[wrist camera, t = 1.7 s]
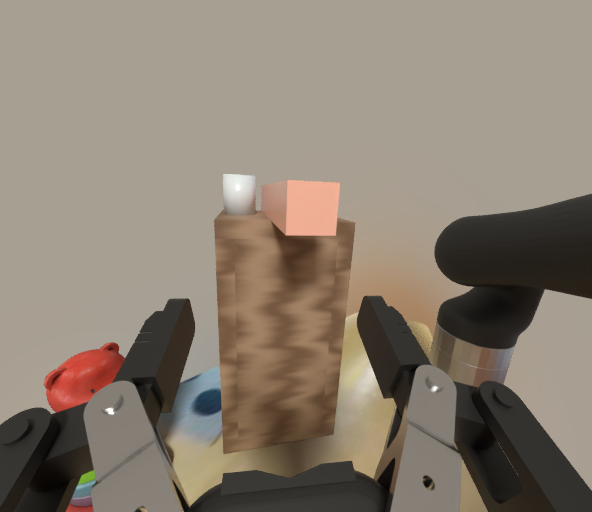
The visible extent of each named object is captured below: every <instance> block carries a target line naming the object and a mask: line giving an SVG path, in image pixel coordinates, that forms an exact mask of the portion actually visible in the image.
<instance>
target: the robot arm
mask: <svg viewBox="0 0 592 512" xmlns="http://www.w3.org/2000/svg"><path fill="white" fill-rule="evenodd" d="M435 259H436V263H437V265H438V267H439V269H440V270H441V272H442V273H443V274H444V275H445V276H446V277H447V278H449V279H450V280H451V281H453V282H456V283H458V284H461V285H465V286H473V287H474V288H473V289H471V290H470V291H469V292H467V293H465V294H463V295H461V296H458V297H455V298H452V299H449V300H447V301H445V302H443V304H442V305H441V306H440V308H439V312H438V317H437V322H436V327H435V332H434V337H433V342H432V347H431V351H430V356H429V360H428V358H427V356H426V355H425V353H424V351H423V350H422V348H421V346H420V345H419V343H418V341H417V340H416V338H415V336H414V335H413V334H412V331H411V330H410V328H409V326H407V323H406V322H405V320H404V318H403V317H402V315H401V314H400V313H399V312H398V311H397V310H395V309H394V308H393V307H392V306H391V307H388V306H387V305H386V303H385V301H384V300H383V298H382V297H381V296H364V298H363V300H362V304H361V307H360V311H359V314H358V317H357V328H358V332H359V334H360V337H361V339H362V342H363V345H364V347H365V350H366V353H367V355H368V358H369V360H370V363H371V366H372V368H373V371H374V374H375V376H376V379H377V381H378V384H379V387H380V389H381V392H382V395H383V397H384V399H385V398H394V401H395V403H396V406H395V408H394V412H393V416H392V420H391V424H390V428H389V431H388V435H387V439H386V443H385V447H384V450H383V454H382V456H381V459H380V461H379V464H378V466H377V469H376V473H375V476H374V479H372V478H371V477H369V476H367V475H365V474H363V473H361V472H358V471H355V470H354V468H353V464H352V461H346V462H335V463H325V464H320V465H318V466H316V467H314V468H312V469H309V470H307V471H305V472H303V473H301V474H299V475H297V476H294V477H292V478H286V477H282V476H278V475H274V474H270V473H266V472H262V471H257V470H253V471H243V472H233V473H223V479H222V483H221V484H218V485H216V486H215V487H213V488H211V489H210V490H208V491H207V492H205V493H204V494H203V495H202V496H200V497H199V498H198V499H197V500H196V501H195V502H194V503H193V504H192V505H191V506H190V505H189V502H188V500H187V497H186V495H185V493H184V490H183V488H182V486H181V483H180V481H179V479H178V477H177V475H176V472H175V470H174V468H173V465H172V463H171V460H170V458H169V455H168V453H167V450H166V448H165V445H164V443H163V440H162V438H161V435H160V433H159V430H158V428H157V426H156V425H157V422H158V419H159V416H160V413H165V412H171V409H172V406H173V403H174V400H175V396H176V393H177V390H178V387H179V383H180V380H181V377H182V373H183V370H184V367H185V363H186V360H187V357H188V354H189V350H190V347H191V344H192V340H193V337H194V333H195V321H194V317H193V312H192V308H191V304H190V300H189V299H169V300H168V302H167V304H166V306H165V308H164V310H163V311H156V312H155V313H154V314H153V315H151V316H150V317H149V318H148V319H147V320H146V321H145V323H144V325H143V327H142V329H141V330H140V334H138V336H137V338H136V340H135V343H134V344H133V345H132V347H131V349H130V351H129V353H128V355H127V356H126V358H125V360H124V362H123V364H122V366H121V368H120V369H119V371H118V373H117V375H116V377H115V379H114V380H113V382H112V383H111V384H109V385H107V386H105V387H103V388H102V389H101V390H99V391H98V392H97V393H96V394H95V395H94V396H93V397H92V398H91V399H90V400H89V401H88V402H86V403H83V404H80V405H77V406H74V407H71V408H69V409H66V410H63V411H60V412H57V413H54V414H50V412H49V411H48V410H46V409H44V408H32V409H28V410H25V411H22V412H20V413H18V414H16V415H14V416H13V417H11V418H9V419H8V420H6V421H5V422H4V423H2V424H1V425H0V512H66V510H67V508H68V506H69V503H70V501H71V499H72V497H73V494H74V492H75V490H76V487H77V485H78V483H79V481H80V478H81V476H82V475H83V474H86V473H88V472H90V471H93V470H94V473H95V484H94V485H93V486H92V489H91V497H92V504H93V510H94V512H460V489H461V457H462V459H463V461H464V463H465V465H466V467H467V469H468V471H469V473H470V475H471V477H472V479H473V481H474V483H475V485H476V487H477V489H478V492H479V494H480V496H481V498H482V500H483V502H484V504H485V506H486V508H487V510H488V512H592V491H591V489H590V488H589V487H588V486H587V484H586V483H585V482H584V481H583V479H582V478H581V477H580V475H579V474H578V473H577V471H576V470H575V469H574V468H573V466H572V465H571V464H570V462H569V461H568V460H567V458H566V457H565V456H564V455H563V453H562V452H561V451H560V449H559V448H558V447H557V446H556V444H555V443H554V442H553V440H552V439H551V438H550V436H549V435H548V434H547V433H546V431H545V430H544V429H543V427H542V426H541V425H540V423H539V422H538V421H537V420H536V418H535V417H534V416H533V414H532V413H531V412H530V410H529V409H528V408H527V407H526V405H525V404H524V403H523V401H522V400H521V399H520V398H519V397H518V396H517V395H516V394H515V393H514V392H513V391H512V390H511V389H509V388H508V387H506V386H504V381H505V377H506V374H507V371H508V368H509V364H510V360H511V357H512V354H513V351H514V347H515V344H516V342H517V339H518V336H519V335H520V334H521V333H522V332H523V331H524V330H526V328H527V327H528V326H529V325H530V323H531V322H532V320H533V317H534V315H535V311H536V310H537V307H538V305H539V302H540V300H541V297H542V295H543V292H544V290H545V289H547V290H552V291H557V292H562V293H566V294H571V295H576V296H581V297H585V298H590V299H592V194H589V195H585V196H581V197H577V198H574V199H569V200H566V201H562V202H558V203H555V204H551V205H547V206H544V207H539V208H535V209H529V210H524V211H517V212H509V213H501V214H493V215H483V216H468V217H463V218H460V219H458V220H456V221H454V222H452V223H451V224H450V225H449V226H447V227H446V228H445V229H444V230H443V232H442V233H441V234H440V236H439V238H438V239H437V242H436V245H435ZM498 443H499V444H498ZM500 446H501V447H500ZM501 448H502V449H501ZM503 451H504V452H503ZM504 453H505V454H506V455H505V454H504ZM460 454H461V455H460ZM506 456H507V457H506ZM508 459H509V460H508ZM509 461H510V462H509ZM511 464H512V465H511ZM512 466H513V467H512ZM514 469H515V470H514ZM515 471H516V472H517V473H516V472H515ZM517 474H518V475H517ZM518 476H519V477H518Z"/></svg>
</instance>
